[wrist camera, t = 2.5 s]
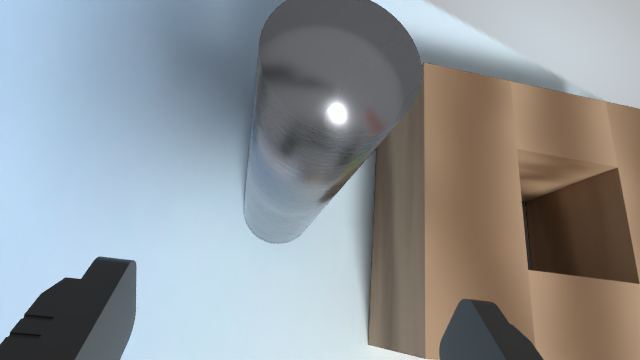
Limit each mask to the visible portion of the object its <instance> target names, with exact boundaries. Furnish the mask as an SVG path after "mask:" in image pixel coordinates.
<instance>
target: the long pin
mask: <svg viewBox="0 0 640 360" xmlns="http://www.w3.org/2000/svg"><path fill="white" fill-rule="evenodd" d="M421 78H422V70H421V62H420V57H419V54H418V51H417V48H416V46H415V44H414V42H413V40H412V38H411V36H410V35H409V33H408V32H407V30H406V29H405V28H404V27H403V25H402V24H401V23H400V22H399V21H398V20H397V19H396V18H395V17H394V16H393V15H392V14H390V13H389V12H388V11H387V10H386V9H384V8H382V7H381V6H379V5H378V4H376V3H374V2H372V1H370V0H287V1H285V2H284V3H283V4H281V5H280V6H279V7H278V8H276V10H275V11H274V12H273V13H272V14H271V15H270V17H269V18H268V20H267V21H266V23H265V25H264V28H263V30H262V33H261V37H260V42H259V53H258V64H257V74H256V85H255V95H254V106H253V116H252V127H251V138H250V148H249V159H248V169H247V180H246V190H245V201H244V217H245V221H246V223H247V225H248V227H249V229H250V230H251V231H252V232H253V234H255V235H256V236H257V237H258V238H260V239H262V240H264V241H266V242H269V243H277V244H279V243H286V242H289V241H292V240H294V239H295V238H297V237H298V236H300V235H301V234H302V233H303V231H304V230H305V229H306V228H307V227H308V226H309V225H310V223H311V222H312V221H313V220H314V219H315V218H316V217H317V215H318V214H319V213H320V212H321V211H322V210H323V208H324V207H325V206H326V205H327V204H328V203H329V202H330V200H331V199H332V198H333V197H334V196H335V195H336V194H337V192H338V191H339V190H340V189H341V188H342V187H343V185H344V184H345V183H346V182H347V181H348V180H349V179H350V177H351V176H352V175H353V174H354V173H355V172H356V171H357V169H358V168H359V167H360V166H361V165H362V164H363V162H364V161H365V160H366V159H367V158H368V157H369V156H370V154H371V153H372V152H373V151H374V150H375V149H376V148H377V146H378V145H379V144H380V143H381V142H382V141H383V139H384V138H385V137H386V136H387V135H388V134H389V133H390V131H391V130H392V129H393V128H394V127H395V126H396V125H397V123H398V122H399V121H400V120H401V119H402V118H403V116H404V115H405V114H406V113H407V112H408V111H409V109H410V108H411V107H412V105H413V104H414V102H415V100H416V98H417V96H418V93H419V90H420V86H421Z"/></svg>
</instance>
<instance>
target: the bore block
mask: <svg viewBox="0 0 640 360" xmlns="http://www.w3.org/2000/svg"><path fill="white" fill-rule="evenodd" d="M421 70H422V78H421V86H420V90H419V93H418V96H417V98H416V100H415V102H414V104H413V105H412V107H411V108H410V109H409V111H408V112H407V113H406V114H405V115H404V116H403V118H402V119H401V120H400V121H399V122H398V123H397V125H396V126H395V127H394V128H393V129H392V130H391V131H390V133H389V134H388V135H387V136H386V137H385V138H384V139H383V141H382V142H381V143H380V144H379V145H378V146H377V148H376V173H375V197H374V221H373V245H372V269H371V293H370V318H369V342H368V345H372V346H376V347H380V348H384V349H388V350H392V351H396V352H400V353H404V354H408V355H412V356H416V357H420V358H424V359H434V360H440V357H439V347H440V342H441V339H442V337H443V335H444V333H445V330H446V328H447V326H448V324H449V322H450V320H451V318H452V316H453V314H454V311H455V309H456V307H457V305H458V303H459V302H460V301H461V300H462V299H472V300H481V301H490V302H493V303H495V304H496V305H497V306H498V307H499V309H500V310H501V312H502V313H503V315H504V316H505V318H506V319H507V320H508V322H509V323H510V324H512V325H514V326H515V327H516V328H517V329H518V330H519V331H520V332H521V333H522V334H523V335H524V336H526V337H527V338H528V339H529V340H530V341H531V342H532V344H533V345H534V346H535V348H536V349H537V351H538V352H539V354H540V355H541V356H542V358H543V359H544V360H640V109H638V108H633V107H628V106H624V105H619V104H615V103H610V102H605V101H601V100H596V99H591V98H587V97H582V96H577V95H573V94H568V93H564V92H559V91H554V90H550V89H545V88H540V87H536V86H531V85H526V84H522V83H517V82H512V81H508V80H503V79H499V78H494V77H489V76H485V75H480V74H475V73H471V72H466V71H461V70H457V69H452V68H447V67H443V66H438V65H434V64H429V63H423V65H422V66H421ZM522 202H526V212H527V222H528V233H529V243H530V253H531V264H532V270H528V262H527V252H526V241H525V230H524V220H523V209H522Z"/></svg>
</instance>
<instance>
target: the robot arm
mask: <svg viewBox="0 0 640 360" xmlns="http://www.w3.org/2000/svg"><path fill="white" fill-rule="evenodd" d="M135 313H136V262H135V261H134V260H125V259H116V258H107V257H97V258H96V259H95V260H94V261H93V263H92V264H91V266H90V267H89V268H88V270H87V271H86V273H85V274H84V276H83V277H82V278H81V279H75V278H64V279H63V280H61V281H60V282H58V283H57V284H55V285H54V286H52V287H51V288H49V289H48V290H46V291H44V292H43V293H41V295H40V296H39V297H38V298H37V299H36V301H35V302H34V303H33V304H32V306H31V307H30V308H29V309H28V311H27V312H26V313H25V314H24V318H23V319H20V321H19V322H18V323H17V324H16V326H15V327H14V328H13V329H12V331H11V332H10V335H9V337H6V338H5V339H4V341H3V342H2V343H1V344H0V360H120V358H121V356H122V354H123V351H124V349H125V347H126V345H127V343H128V340H129V338H130V335H131V332H132V329H133V325H134V320H135ZM439 357H440V360H544V359H543V358H542V356H541V355H540V354H539V352H538V351H537V349H536V348H535V346H534V345H533V344H532V342H531V341H530V340H529V339H528V338H527V337H526V336H524V335H523V334H522V333H521V332H520V331H519V330H518V329H517V328H516V327H515V326H514V325H512V324H510V323H509V322H508V320H507V319H506V318H505V316H504V315H503V313H502V312H501V310H500V309H499V307H498V306H497V305H496V304H495V303H493V302H490V301H481V300H472V299H462V300H461V301H460V302H459V303H458V305H457V307H456V309H455V311H454V314H453V316H452V318H451V320H450V322H449V324H448V326H447V328H446V330H445V333H444V335H443V337H442V339H441V342H440V347H439Z"/></svg>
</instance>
